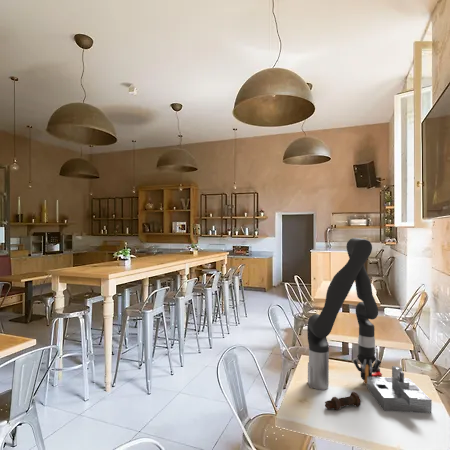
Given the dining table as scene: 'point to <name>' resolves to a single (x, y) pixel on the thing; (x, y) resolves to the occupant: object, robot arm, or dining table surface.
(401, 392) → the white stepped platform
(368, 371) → the rounded pin
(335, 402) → the bolt
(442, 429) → the dining table surface
